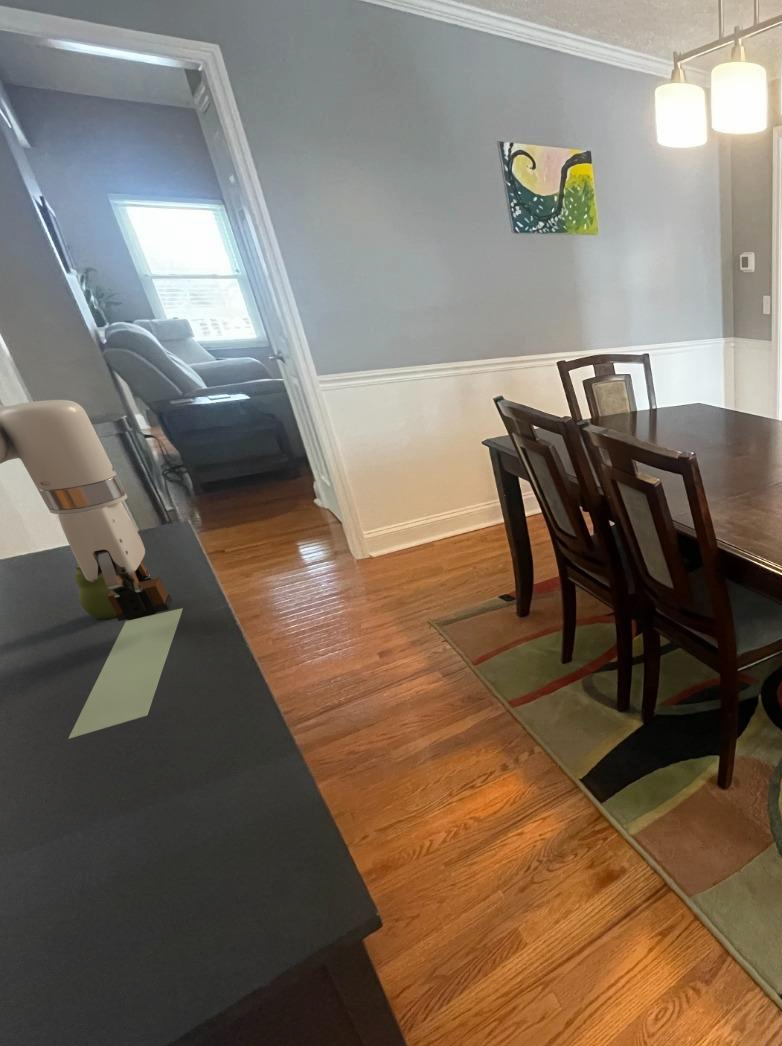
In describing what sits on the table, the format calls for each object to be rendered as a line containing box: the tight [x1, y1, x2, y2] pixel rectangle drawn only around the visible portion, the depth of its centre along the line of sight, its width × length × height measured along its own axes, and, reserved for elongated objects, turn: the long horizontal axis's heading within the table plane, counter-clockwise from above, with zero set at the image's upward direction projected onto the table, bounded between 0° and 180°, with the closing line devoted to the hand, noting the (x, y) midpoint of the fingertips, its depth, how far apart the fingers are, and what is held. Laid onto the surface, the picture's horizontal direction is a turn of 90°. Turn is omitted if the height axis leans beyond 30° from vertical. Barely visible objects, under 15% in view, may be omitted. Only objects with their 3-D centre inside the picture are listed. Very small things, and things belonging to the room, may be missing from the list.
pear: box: [74, 563, 117, 620], centre depth 93 cm, size 6×5×10 cm
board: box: [68, 607, 184, 740], centre depth 82 cm, size 7×32×1 cm, turn 35°
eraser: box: [107, 577, 173, 622], centre depth 88 cm, size 6×4×4 cm, turn 125°
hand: (145, 609), depth 88 cm, fingers closed on eraser, 3 cm apart
